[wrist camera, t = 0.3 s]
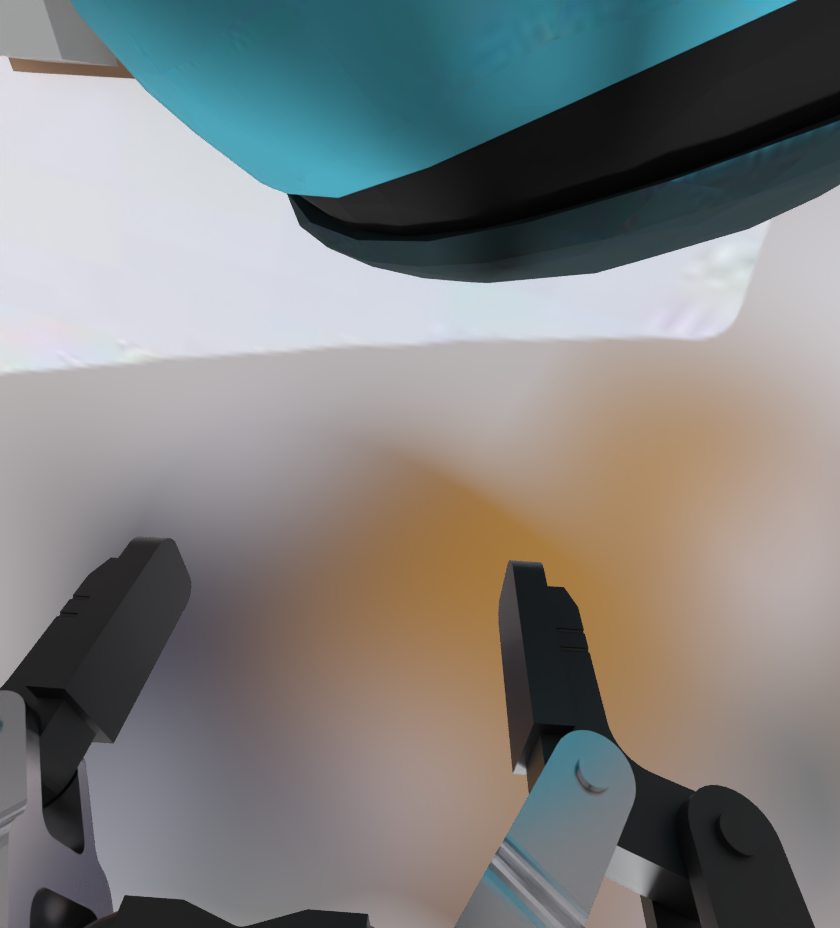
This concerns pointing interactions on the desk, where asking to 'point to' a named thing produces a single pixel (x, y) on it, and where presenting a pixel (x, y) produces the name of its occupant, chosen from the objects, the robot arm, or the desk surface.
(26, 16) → the stone
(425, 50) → the helmet
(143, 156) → the desk surface
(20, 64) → the lid board
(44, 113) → the desk surface
